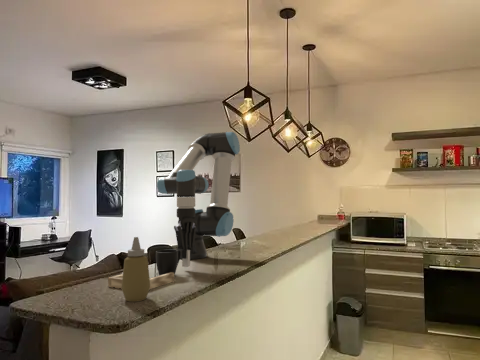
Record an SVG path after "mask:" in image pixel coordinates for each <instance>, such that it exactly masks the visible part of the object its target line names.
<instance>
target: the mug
mask: <svg viewBox="0 0 480 360" xmlns="http://www.w3.org/2000/svg"><path fill="white" fill-rule="evenodd" d="M180 256H181V251H180V250H177V249H171V248H169V249H167V248H166V249H160V250H159V249H158V250H156V251H155V263H156V265H155V266H156V268H157V269H156V270H157V272H158V276H160V275H163V274H167V273H170V272H173V273H174V277H175V275H176V271H177V268H178V265H179V263H180V260H181V259H180Z"/></svg>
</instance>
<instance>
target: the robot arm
mask: <svg viewBox="0 0 480 360" xmlns="http://www.w3.org/2000/svg"><path fill="white" fill-rule="evenodd" d="M240 149H241V148H240V140H239V138H238V136H237V134H236V133H235V132H233V131H225V132H224V131H223V132H211V133H210V132H209V133H204V134H203V135H201V136H199V137H197V138H196V139H195V140H193V141H192V143H190V145H189V146H188V147H187V152H186V153H185V154H184V155H183V156H182V158H180V161H179V162H178V163H177V164H176V166H174V168H173V169H172V170H171V171H170V172H169V174H168V175H167V176H161V177H159V178H158V180H157V182H156V187H157V190H158V192H159V193H160V194H163V195H164V194H165V195H166V194H167V195H174V194H175V195H176V208H177V209H176V217H177V218H178V221H177V225H174V226H173V229H174V231H175V238H176V244H177V248H176V250H180V251H181V256H180V260H182V261H181V262H182V267H184V268H185V267H186V268H190V267H191V260H198V259H204V258H206V257H208V255H207V254H208V252H207V249H206V245H205V243H204V237H219V238H220V237H227V236H228V235H230V233H231V232H232V230H233V228H234V227H233V226H234V222H235V221H234V214H233V213H232V212H231V209H230V208H229V207H228V203H229V193H230V182H231V181H230V180H231V170H232V162H233V161H234V160H235V159H236V155H238V154H240V151H241V150H240ZM208 156H212V158H213V159H214V164H213V174H212V184H211V192H210V201H209V205H208V206H206V210H205V211H204V210H203V208H199V209H196V208H195V207H196V194H197V195H198V194H200V195H201V194H204V193H206V191H208V189H209V180H208V179H207V178H206V177H203V176H202V175H201V176H200V175H199V176H198V175H196V171H195V170H194V169H195V168H196V166H197V165H198V163H199V162H200V161H202V160H203V159H204V158H205V157H208Z"/></svg>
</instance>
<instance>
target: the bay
mask: <svg viewBox="0 0 480 360" xmlns="http://www.w3.org/2000/svg"><path fill="white" fill-rule="evenodd" d="M122 278H123V273H121V274H117V275H113V276H110V277H108V278H107V287H108V286H109V287H108V288H113V287H115V288H114V289H119V288H121V290H122ZM149 278H150V277H149ZM174 282H175V276H174V273H173V272H170V273H167V274H163V275H160V276H159V275H156V276H154V277H151V278H150V288H149V290H153V289H155V288H157V287H162V286H165V285H167V284H170V283H174Z"/></svg>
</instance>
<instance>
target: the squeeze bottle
mask: <svg viewBox="0 0 480 360" xmlns="http://www.w3.org/2000/svg"><path fill="white" fill-rule="evenodd" d="M139 239H140V238H139V236H135V237H133V241H132V246H131V249H128V250H127V257H126V258H124V259H123V260H124V261H123V270H122V274H123V278H122V289H121V291H122V294H123V296H124V299H125V301H127V302H133V303H135V302H140V301H144V300H146V299H147V296H148V294H149V291H150V289H149V288H150V269H149V262H148V257H147V256H145V249H144V248H141V244H140V240H139Z"/></svg>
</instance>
